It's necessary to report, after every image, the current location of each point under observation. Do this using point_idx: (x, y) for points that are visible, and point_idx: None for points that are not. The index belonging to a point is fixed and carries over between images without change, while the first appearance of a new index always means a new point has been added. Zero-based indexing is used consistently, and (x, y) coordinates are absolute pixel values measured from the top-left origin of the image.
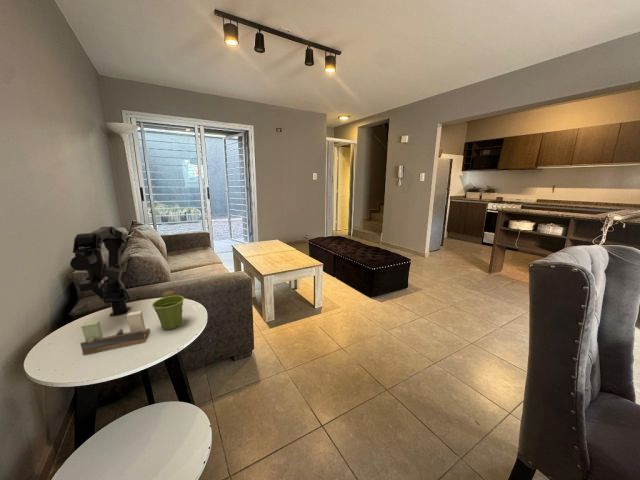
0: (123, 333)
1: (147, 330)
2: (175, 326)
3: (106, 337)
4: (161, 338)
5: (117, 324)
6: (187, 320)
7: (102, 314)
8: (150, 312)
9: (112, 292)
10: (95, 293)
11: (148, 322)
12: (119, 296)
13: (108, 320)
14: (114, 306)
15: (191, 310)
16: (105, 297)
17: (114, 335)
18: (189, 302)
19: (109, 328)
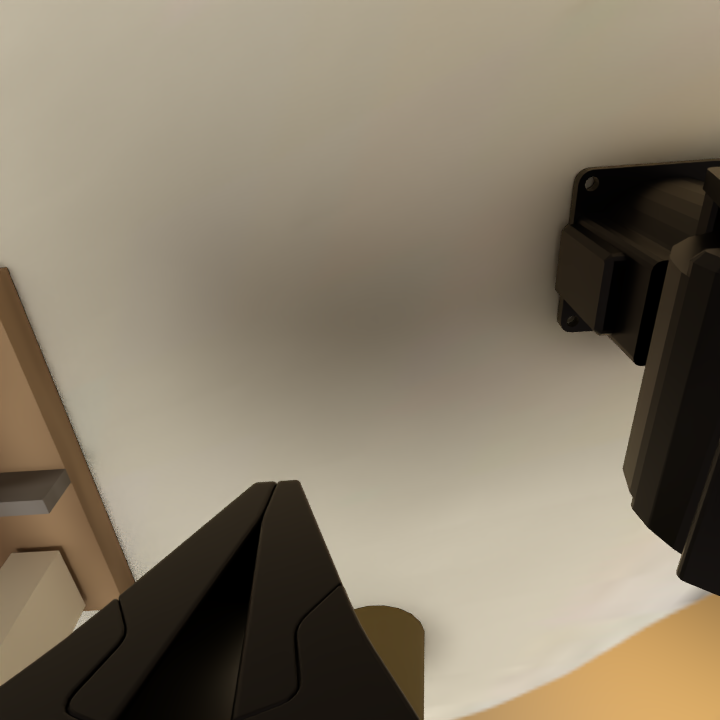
0: (65, 486)
1: (93, 606)
2: None
3: (10, 388)
4: None
5: (323, 333)
6: None
7: (711, 26)
8: (466, 513)
9: (707, 452)
10: (135, 586)
11: None
12: (623, 465)
13: (463, 200)
14: (604, 286)
15: None
16: (673, 293)
17: (38, 436)
18: (515, 687)
19: (258, 293)
